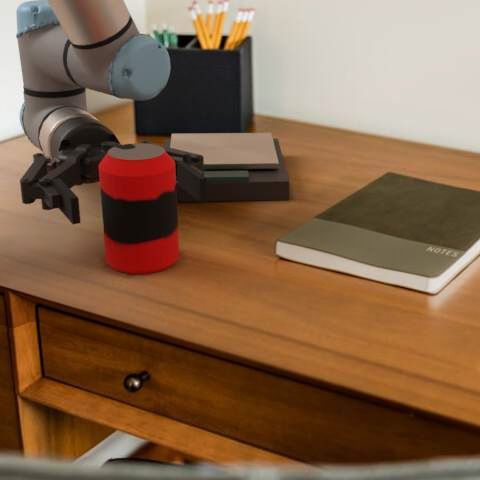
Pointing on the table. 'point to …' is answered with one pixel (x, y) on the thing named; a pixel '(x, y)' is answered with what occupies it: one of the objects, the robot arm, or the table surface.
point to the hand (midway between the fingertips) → (142, 200)
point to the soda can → (139, 208)
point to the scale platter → (230, 149)
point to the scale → (243, 183)
